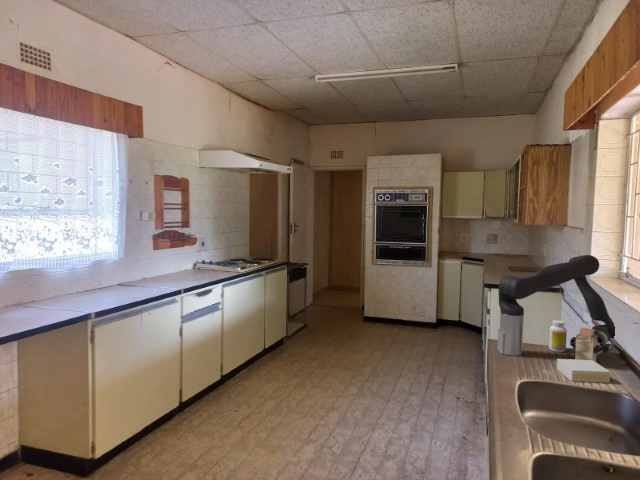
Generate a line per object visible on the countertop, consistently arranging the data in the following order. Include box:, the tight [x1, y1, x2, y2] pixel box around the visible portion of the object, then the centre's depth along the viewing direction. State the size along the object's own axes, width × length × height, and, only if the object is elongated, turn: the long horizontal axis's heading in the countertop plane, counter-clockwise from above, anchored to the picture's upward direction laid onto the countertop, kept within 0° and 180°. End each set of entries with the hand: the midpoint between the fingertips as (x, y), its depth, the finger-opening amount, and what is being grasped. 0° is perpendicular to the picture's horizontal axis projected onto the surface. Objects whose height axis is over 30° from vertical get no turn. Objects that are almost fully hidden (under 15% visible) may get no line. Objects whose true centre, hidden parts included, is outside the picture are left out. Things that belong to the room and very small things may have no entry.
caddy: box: [574, 332, 597, 363], centre depth 174 cm, size 6×6×12 cm
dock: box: [556, 358, 611, 384], centre depth 161 cm, size 13×12×4 cm
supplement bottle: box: [548, 319, 568, 353], centre depth 191 cm, size 7×7×13 cm
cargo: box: [579, 327, 594, 341], centre depth 174 cm, size 4×4×4 cm
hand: (584, 348), depth 173 cm, fingers open, 7 cm apart
